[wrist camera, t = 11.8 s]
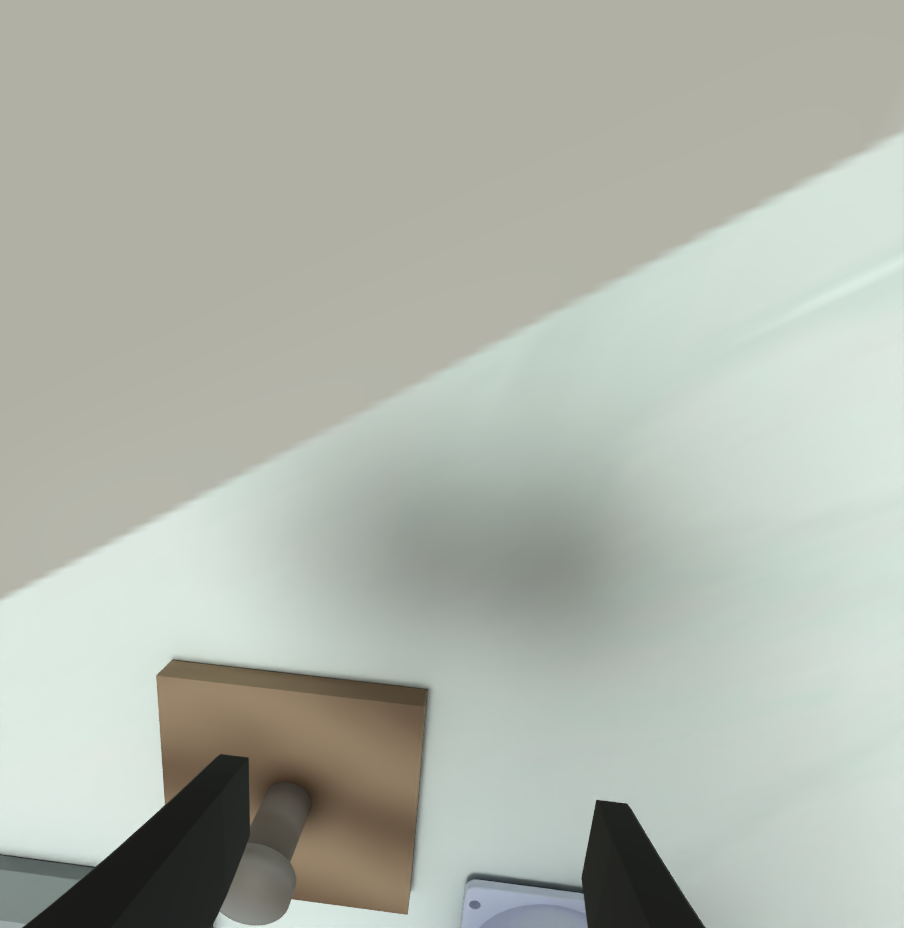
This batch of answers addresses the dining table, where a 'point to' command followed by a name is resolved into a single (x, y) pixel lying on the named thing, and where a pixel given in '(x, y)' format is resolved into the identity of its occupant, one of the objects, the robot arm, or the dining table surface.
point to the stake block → (304, 781)
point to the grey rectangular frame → (33, 887)
